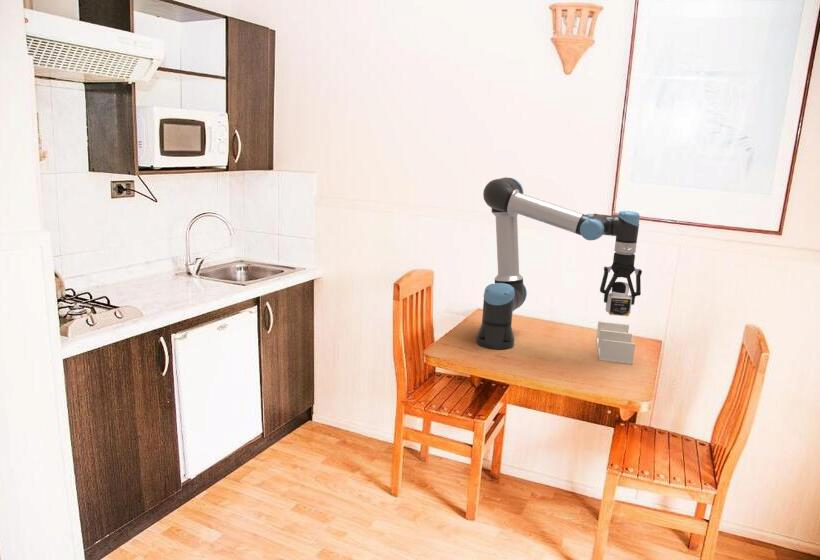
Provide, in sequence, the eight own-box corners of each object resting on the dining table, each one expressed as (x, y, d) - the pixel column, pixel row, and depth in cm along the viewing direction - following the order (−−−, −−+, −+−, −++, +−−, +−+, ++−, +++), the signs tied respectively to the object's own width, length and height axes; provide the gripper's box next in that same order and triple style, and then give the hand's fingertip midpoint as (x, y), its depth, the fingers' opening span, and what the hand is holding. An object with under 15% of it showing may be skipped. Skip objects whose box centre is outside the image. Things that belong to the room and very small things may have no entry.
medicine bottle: (609, 315, 235) (612, 284, 232) (606, 309, 242) (609, 280, 239) (628, 316, 234) (632, 285, 231) (625, 311, 241) (629, 281, 238)
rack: (599, 360, 236) (601, 340, 234) (596, 339, 259) (598, 321, 257) (632, 364, 233) (635, 344, 231) (626, 342, 257) (628, 324, 255)
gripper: (597, 252, 230) (591, 312, 236) (654, 256, 227) (647, 316, 232) (595, 249, 237) (589, 306, 243) (651, 252, 234) (643, 311, 239)
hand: (617, 311), depth 237 cm, fingers closed on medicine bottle, 7 cm apart
